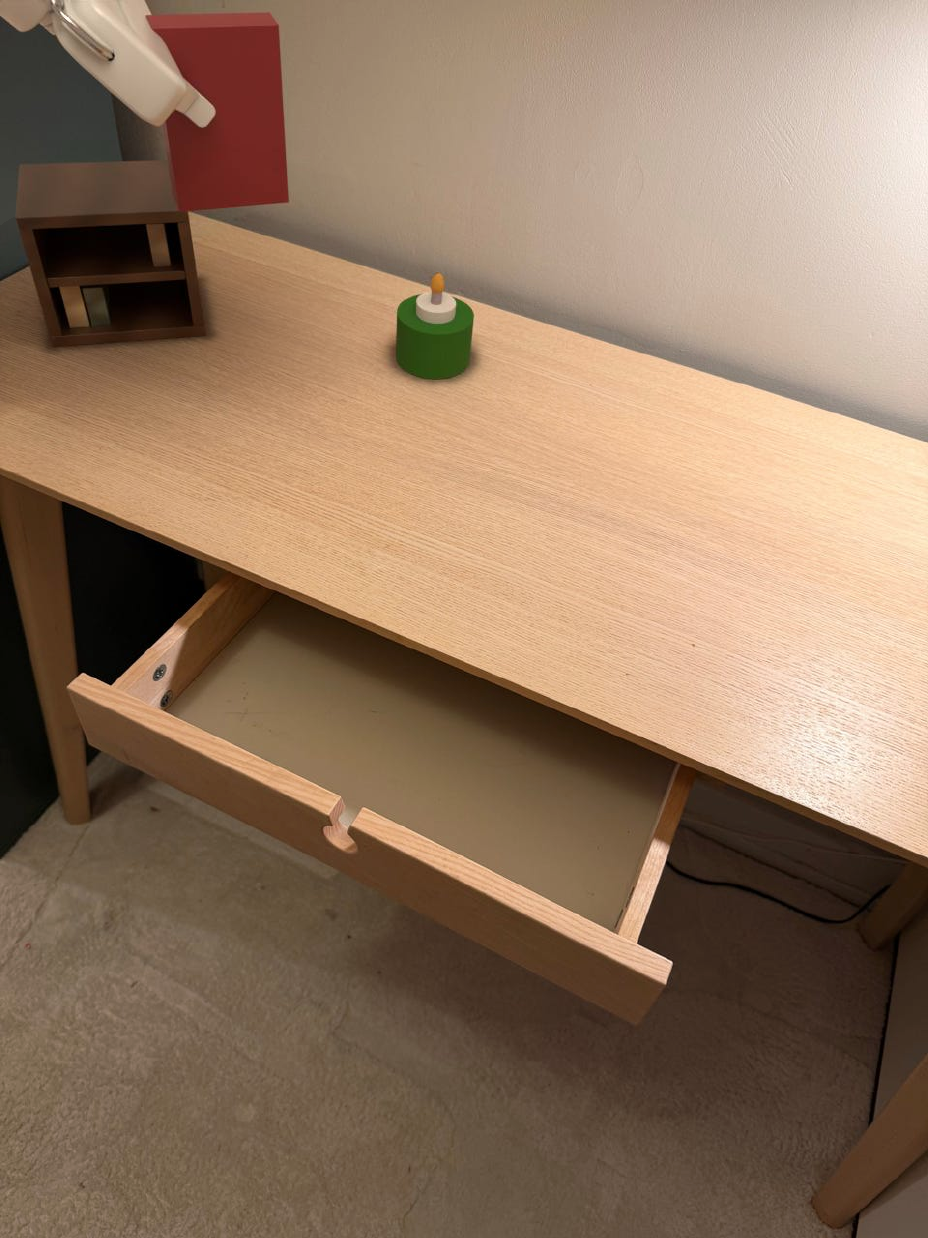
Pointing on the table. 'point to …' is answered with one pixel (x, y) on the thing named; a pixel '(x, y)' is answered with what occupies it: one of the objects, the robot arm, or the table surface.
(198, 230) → the table surface
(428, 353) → the candle
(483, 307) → the table surface
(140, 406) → the table surface
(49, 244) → the bookshelf
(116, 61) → the robot arm
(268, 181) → the book
